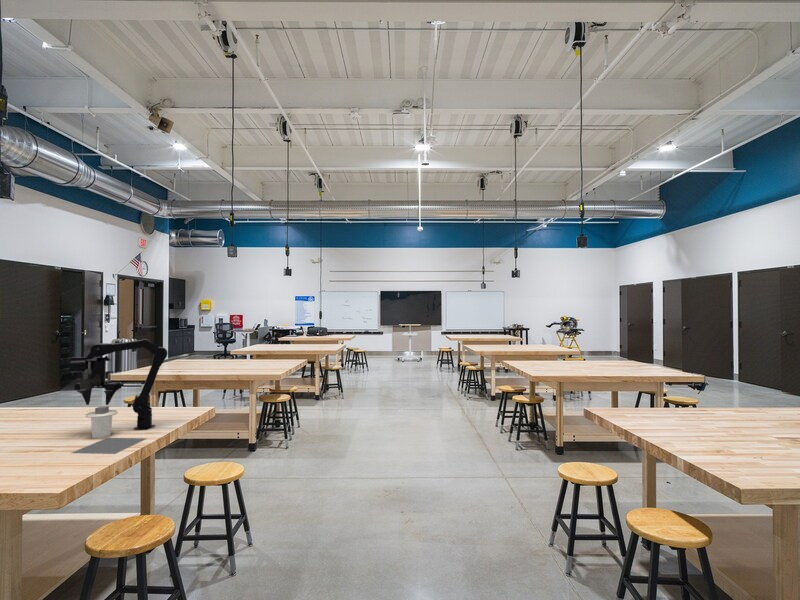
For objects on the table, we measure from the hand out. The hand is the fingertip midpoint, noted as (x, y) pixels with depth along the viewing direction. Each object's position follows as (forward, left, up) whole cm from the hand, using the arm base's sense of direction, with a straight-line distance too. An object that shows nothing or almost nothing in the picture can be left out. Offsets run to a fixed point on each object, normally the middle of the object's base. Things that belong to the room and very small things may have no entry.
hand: (97, 404), depth 196 cm
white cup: (+5, +6, -13) cm, 15 cm away
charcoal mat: (+18, +20, -13) cm, 30 cm away
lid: (+5, +6, -3) cm, 8 cm away
